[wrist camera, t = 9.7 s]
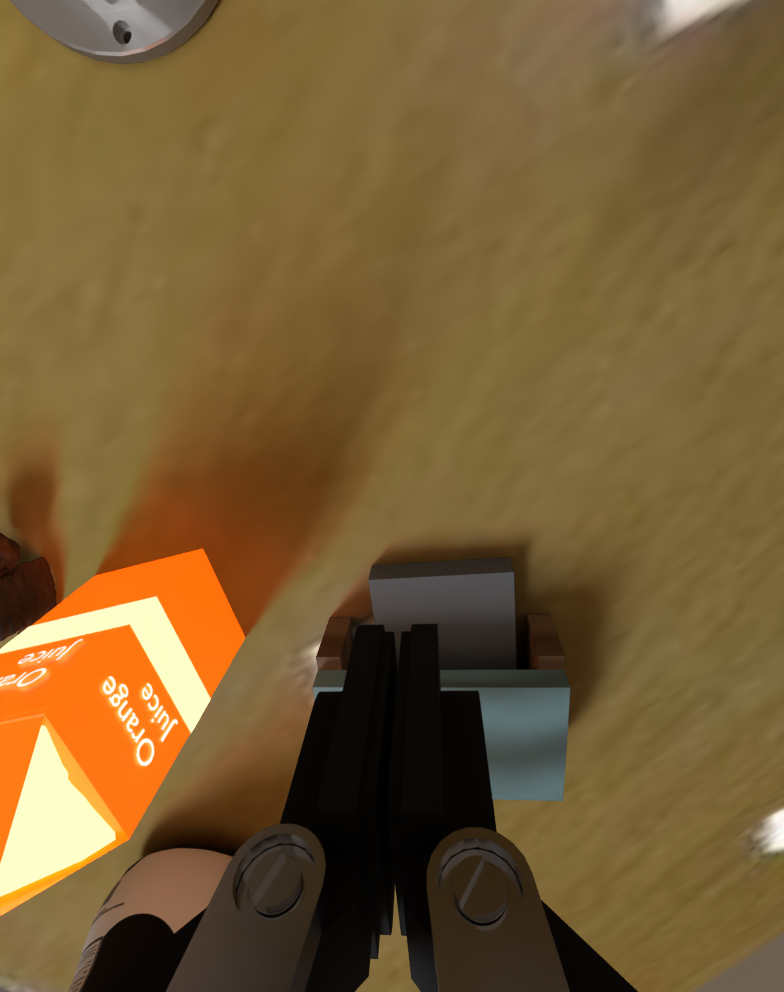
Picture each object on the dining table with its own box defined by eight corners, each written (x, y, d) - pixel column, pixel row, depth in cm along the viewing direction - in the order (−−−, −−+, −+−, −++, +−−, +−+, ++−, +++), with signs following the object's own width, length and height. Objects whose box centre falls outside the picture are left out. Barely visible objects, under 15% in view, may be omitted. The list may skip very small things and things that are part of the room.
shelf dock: (329, 617, 34) (310, 673, 29) (549, 614, 33) (571, 673, 28) (347, 741, 38) (332, 811, 33) (543, 744, 37) (561, 817, 32)
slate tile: (372, 561, 33) (368, 580, 31) (508, 553, 32) (514, 572, 30) (395, 721, 38) (392, 747, 36) (514, 719, 37) (519, 745, 35)
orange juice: (93, 574, 35) (-300, 880, 16) (203, 546, 33) (-92, 849, 15) (142, 661, 37) (-148, 1013, 19) (247, 639, 36) (43, 1000, 17)
